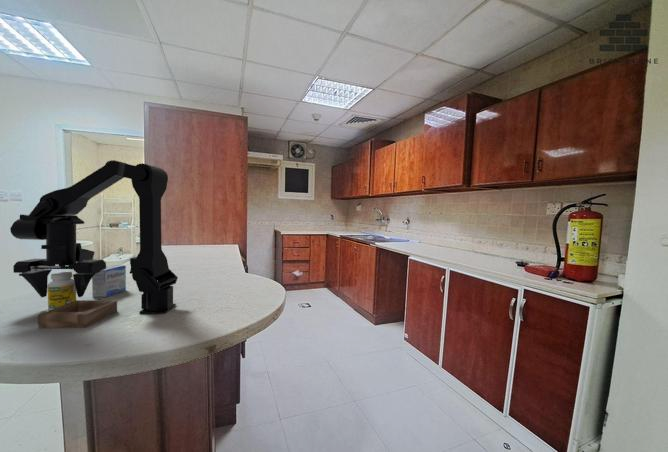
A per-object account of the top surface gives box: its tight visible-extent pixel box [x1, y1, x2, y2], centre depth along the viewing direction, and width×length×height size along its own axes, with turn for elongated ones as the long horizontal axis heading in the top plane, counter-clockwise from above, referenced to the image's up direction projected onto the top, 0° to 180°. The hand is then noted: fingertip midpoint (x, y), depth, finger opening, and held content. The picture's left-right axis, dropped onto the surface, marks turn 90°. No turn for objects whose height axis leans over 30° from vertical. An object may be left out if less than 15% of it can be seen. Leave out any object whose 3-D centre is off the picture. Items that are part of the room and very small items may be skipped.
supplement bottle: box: [47, 271, 77, 311], centre depth 71 cm, size 5×5×10 cm
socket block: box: [37, 299, 118, 329], centre depth 65 cm, size 10×10×3 cm
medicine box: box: [91, 264, 127, 298], centre depth 85 cm, size 8×4×9 cm, turn 179°
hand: (62, 296), depth 72 cm, fingers open, 9 cm apart
